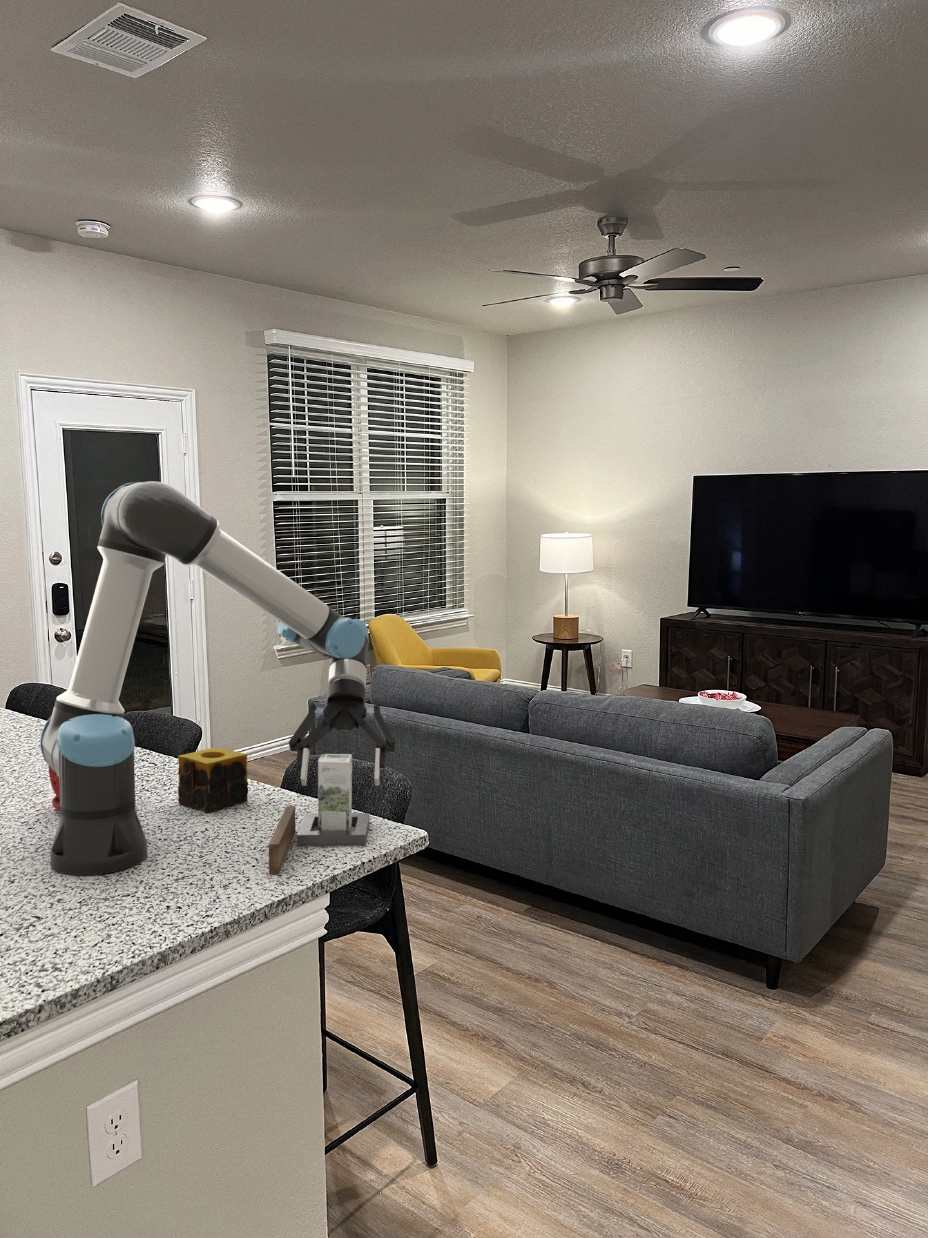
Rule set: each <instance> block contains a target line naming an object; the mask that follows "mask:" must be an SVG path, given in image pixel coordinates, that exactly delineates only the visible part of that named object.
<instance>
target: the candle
mask: <svg viewBox="0 0 928 1238" xmlns="http://www.w3.org/2000/svg"><path fill="white" fill-rule="evenodd" d="M177 759H178V772H177V773H178V784H177V785H178V786H177V787H178V788H177V795H178V798H177V801H178V804H179V805H181V806H185V807H187V808H191V809H195V810H198V811H199V810H200V811H202V812H204V813H207V814H211V813H214V812H216V811H221V810H225V809H227V808H233V807H234V806H237V805H241V803H242V804H244V803H247V802H248V800H249V799H248V794H249V787H248V785H249V782H248V769H247V768H248V754H246V753H244V752H240V751H235V750H230V749H226V748H222V747H219V746H217V747H211V748H210V747H209V748H207V749H201V750H198V751H194V752H189V753H184V754H179V755H178V756H177Z"/></svg>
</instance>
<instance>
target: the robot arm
mask: <svg viewBox="0 0 928 1238" xmlns="http://www.w3.org/2000/svg"><path fill="white" fill-rule="evenodd" d="M100 515H101V516H100V518H101V525H102V529H101V533H100V536H99V540H98V543H97V550H98V552H99V553H100V554H101V556H102V559H103V560H102V564H101V568H100V572H99V575H98V579H97V582H96V585H95V590H94V594H93V598H92V602H91V604H90V608H89V613H88V616H87V619H86V624H85V626H84V631H83V635H82V639H81V642H80V646H79V650H78V653H77V657H76V660H75V665H74V668H73V672H72V675H71V679H70V682H69V686H68V689H67V690H66V691H65V692H63V693H61V694H59V695H58V696H56V699H55V703H54V706H53V708H52V709H53V710H52V713H51V716H50V717H49V718H48V719H47V721H46V722H45V724H44V725H43V727H42V729H41V732H40V738H39V746H40V752H41V754H42V757H43V759H44V761H45V763H47V766H48V765H49V766H48V768H49V767H50V768H51V769H52V770H54V771H55V772H56V774H57V776H59V784H60V811H59V812H60V819H59V822H58V825H57V827H56V832H55V835H54V837H53V841H52V845H51V848H50V852H49V853H50V854H49V855H50V856H49V858H50V867H51V868H52V869H53V870H54V871H56V872H59V873H62V874H65V875H66V874H67V875H75V876H95V875H103V874H110V873H114V872H119V871H122V870H126V869H130V868H131V867H135V866H136V865H138V864H140V863H141V862H142V861H144V860H146V858H147V856H148V839H147V837H146V835H145V832H144V829H143V826H142V824H141V822H140V819H139V817H138V814H137V810H136V784H135V782H136V779H135V746H136V741H135V736H134V730H133V729H134V728H133V726H132V725H131V723H130V722H129V721H128V720H126V719H125V718H123V717H124V715H125V709H124V707H123V706H122V704H121V702H120V700H119V699H120V696H121V692H122V687H123V684H124V680H125V676H126V672H127V668H128V665H129V661H130V657H131V655H132V651H133V648H134V647H133V646H134V643H135V639H136V636H137V632H138V628H139V625H140V620H141V617H142V614H143V610H144V606H145V602H146V599H147V595H148V591H149V587H150V583H151V580H152V576H153V573H154V572H155V571H156V570H157V569H159V568H161V567H162V566H164V564H165V562H166V561H165V560H166V558H167V556H169V557H171V558H172V559H175V560H176V561H178V562H179V563H181V564H182V565H184V566H191V565H194V566H196V567H197V568H198V569H201V570H202V571H203V572H205V573H206V574H207V575H209V576H211V577H212V578H213V579H215V580H216V581H218V582H220V583H221V584H222V585H224V586H225V587H227V588H229V589H230V590H232V591H233V592H234V593H236V594H238V595H239V596H240V597H242V598H243V599H245V600H247V601H249V602H250V603H251V604H252V605H254V606H256V607H257V608H258V609H260V610H262V611H263V612H264V613H266V614H267V615H269V616H270V617H272V618H274V619H275V620H276V621H278V622H279V623H278V634H279V635H280V636H281V637H282V638H284V639H286V640H287V641H289V642H290V643H294V644H296V645H298V646H301V647H303V648H305V649H307V650H309V651H311V652H314V653H316V654H318V655H320V656H321V657H324V658H327V659H329V669H328V681H327V683H328V685H327V686H328V687H327V695H326V704H325V706H324V707H317V706H316V704H314V703H313V704H311V705H309V709H308V713H307V714H306V716H305V718H304V719H303V721H302V722H301V724H300V725H299V726H298V728H296V730H295V732H294V734H293V735H292V737H290V739H289V741H288V746H289V750H290V752H296V753H297V755H296V765H297V768H298V769H301V770H300V782H301V786H302V787H303V786H305V787H306V786H307V780H308V779H307V778H308V770H309V769H308V768H309V758H310V754H309V753H310V752H309V750H311V748H312V747H313V746H315V745H316V744H317V743H318V742H319V741H320V740H321V739H322V738H323V737H325V735H327V733H331V731H332V730H333V729H335V730H336V731H342V730H347V731H352V730H354V729H356V730H357V731H358V732H359V733H360V734H362V735H363V736H364V738H365V739H366V740H368V742H369V743H370V744H371V745H372V746H373V747H374V748H375V756H374V757H375V761H374V776H373V777H374V786H378V787H379V786H380V772H381V769H386V765H387V754H388V753H389V752H395V751H396V750H397V743H396V740H395V738H394V736H393V734H392V732H391V730H390V729H389V727H388V725H387V723H386V722H385V720H384V718H383V716H382V714H381V707H380V705H379V704H375V705H374V706H373V707H366V706H365V705H366V687H367V673H368V672H367V667H368V657H369V656H368V655H369V654H368V653H369V647H370V646H369V645H370V643H369V642H370V641H369V630H368V626H367V624H365V623H364V622H363V621H362V620H361V619H358V618H354V619H353V618H351V617H346V616H343V615H341V614H340V613H339V612H338V611H336V610H335V609H333V608H331V607H330V606H329V605H327V604H326V603H325V602H324V601H322V600H321V599H319V598H318V597H316V596H315V595H313V594H312V593H311V592H309V591H308V590H306V589H305V588H303V587H302V586H301V585H299V584H298V583H297V582H295V581H294V580H292V579H291V578H289V577H288V576H287V575H285V574H284V573H282V571H280V570H278V568H275V567H274V566H273V565H271V564H270V563H269V562H267V561H266V560H264V559H263V558H262V557H260V556H259V555H257V554H256V553H254V552H253V551H251V550H250V549H249V548H248V547H246V546H244V545H243V544H242V543H240V542H239V541H237V540H236V539H234V538H233V537H232V536H230V535H229V534H228V533H226V532H225V531H223V530H222V529H221V528H220V523H219V520H218V519H217V518H215V517H214V516H213V515H211V514H210V513H208V512H207V511H206V510H204V509H203V508H202V507H201V506H200V505H198V504H197V503H196V502H194V501H193V500H192V499H190V498H189V497H188V496H187V495H185V494H184V493H183V492H181V491H180V490H178V489H177V488H175V487H173V486H172V485H170V484H168V483H166V482H161V481H154V480H153V481H152V480H151V481H144V482H141V481H134V482H133V481H132V482H129V483H124V484H123V485H120V486H119V487H117V488H115V489H114V490H113V491H112V492H111V493H110V494H108V496H107V497H106V499H105V501H104V502H103V505H102V508H101V514H100ZM322 715H323V717H324V718H323V719H322V721H321V722H320V723H319V724H318V726H316V727H315V728H314V729H313V730H312V731H311V729H312V727H313V726H314V725H315V722H316V720H319V718H320V717H322ZM367 716H369V718H370V719H371V720H374V722H375V725H376V727H377V729H378V730H379V732H380V734H381V736H382V738H383V740H382V738H381V737H380V736H379V735H378V734H377V733H376V732H375V731H374V730H373V729H372V728H371V727H370V726H369V724H368V723H366V720H365V718H366V717H367ZM310 731H311V732H310ZM309 732H310V733H309Z"/></svg>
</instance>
